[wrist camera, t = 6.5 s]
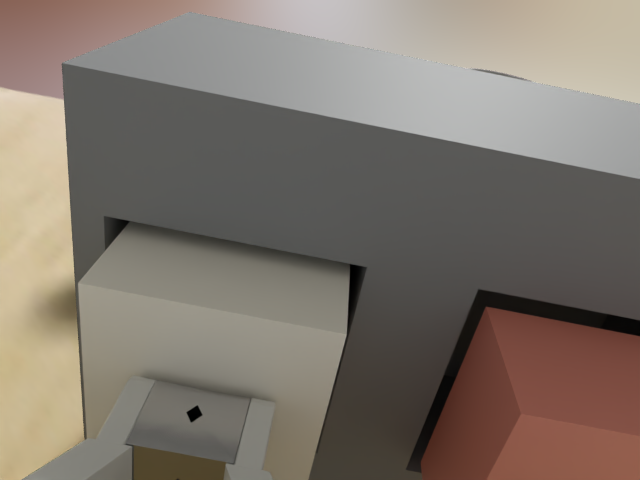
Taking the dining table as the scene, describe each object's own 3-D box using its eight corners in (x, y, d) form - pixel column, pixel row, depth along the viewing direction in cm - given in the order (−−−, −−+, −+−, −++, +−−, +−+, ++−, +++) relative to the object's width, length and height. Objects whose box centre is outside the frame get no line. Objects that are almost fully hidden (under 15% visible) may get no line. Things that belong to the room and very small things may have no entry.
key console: (89, 522, 16) (61, 63, 10) (171, 349, 23) (189, 11, 17) (559, 607, 17) (859, 223, 10) (503, 412, 24) (656, 107, 17)
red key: (432, 581, 11) (521, 414, 9) (420, 462, 14) (486, 306, 11) (658, 622, 12) (810, 468, 9) (604, 496, 14) (709, 349, 12)
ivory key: (88, 466, 12) (77, 282, 10) (137, 374, 15) (138, 210, 12) (301, 505, 12) (346, 334, 10) (312, 407, 15) (350, 251, 12)
